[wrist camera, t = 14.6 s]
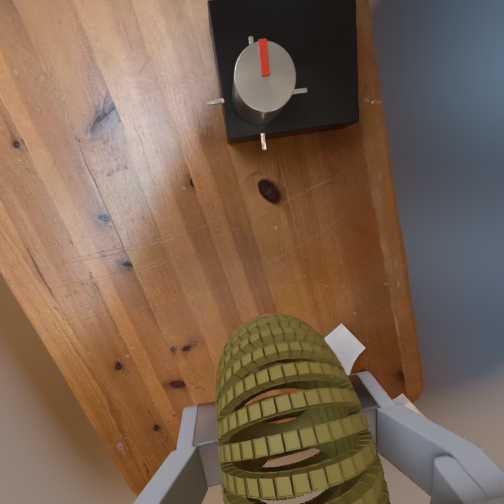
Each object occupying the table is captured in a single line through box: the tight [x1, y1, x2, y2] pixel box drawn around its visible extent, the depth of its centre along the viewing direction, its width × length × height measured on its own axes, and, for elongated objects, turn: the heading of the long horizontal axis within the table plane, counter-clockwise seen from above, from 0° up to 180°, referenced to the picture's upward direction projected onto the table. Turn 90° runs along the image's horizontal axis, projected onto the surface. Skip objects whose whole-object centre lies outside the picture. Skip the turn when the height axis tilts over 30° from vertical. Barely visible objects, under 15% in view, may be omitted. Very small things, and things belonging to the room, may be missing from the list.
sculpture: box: [216, 313, 390, 504], centre depth 9 cm, size 8×4×8 cm, turn 9°
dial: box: [232, 39, 296, 125], centre depth 20 cm, size 4×4×4 cm
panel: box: [207, 0, 359, 150], centre depth 23 cm, size 13×11×3 cm
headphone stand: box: [324, 323, 426, 418], centre depth 27 cm, size 5×6×12 cm
